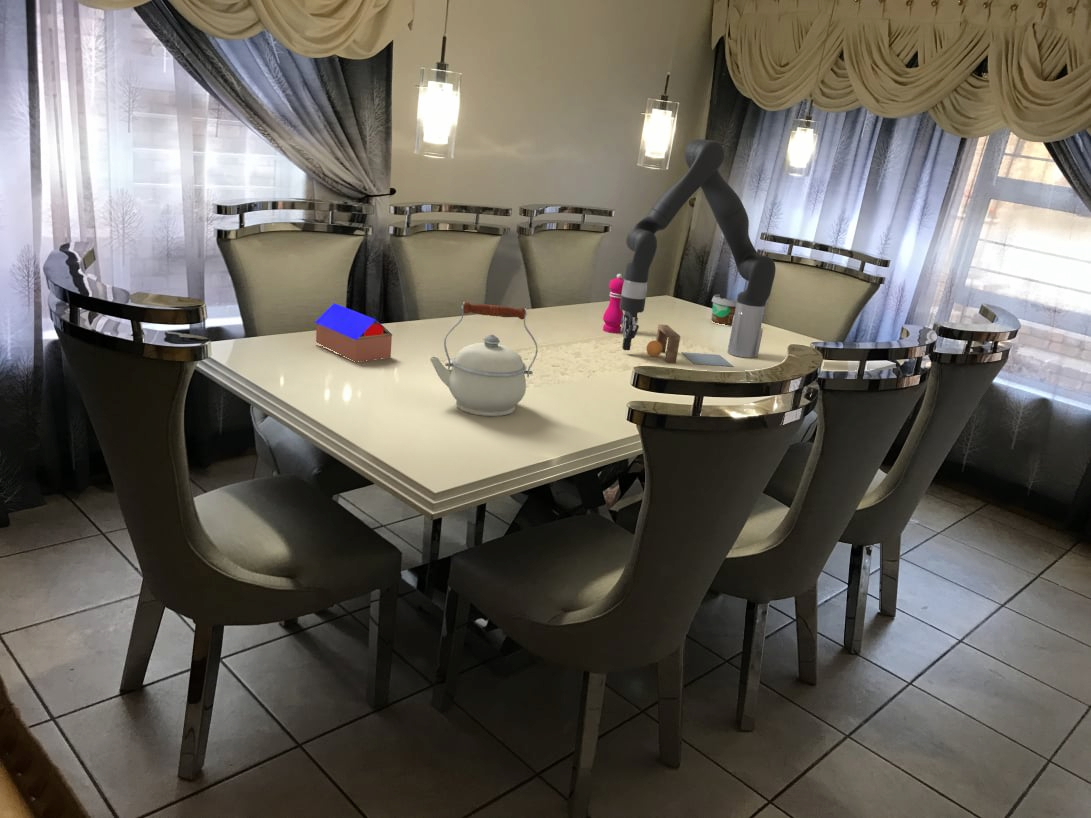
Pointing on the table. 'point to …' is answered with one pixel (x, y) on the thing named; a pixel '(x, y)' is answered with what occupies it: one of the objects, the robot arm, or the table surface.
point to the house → (353, 334)
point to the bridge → (673, 342)
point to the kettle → (486, 369)
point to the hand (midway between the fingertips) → (625, 349)
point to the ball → (654, 348)
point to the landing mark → (707, 359)
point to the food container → (723, 310)
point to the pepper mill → (614, 307)
